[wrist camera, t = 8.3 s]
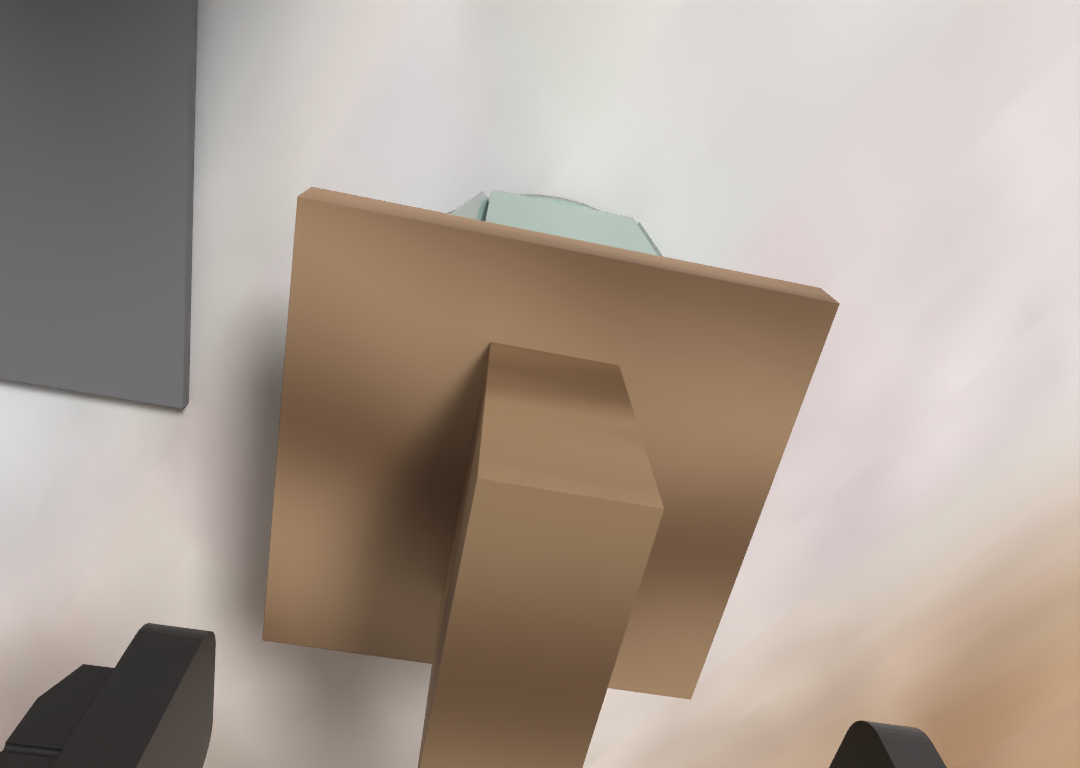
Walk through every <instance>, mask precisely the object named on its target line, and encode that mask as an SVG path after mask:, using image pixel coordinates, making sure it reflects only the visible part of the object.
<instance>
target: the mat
mask: <svg viewBox="0 0 1080 768" xmlns="http://www.w3.org/2000/svg"><path fill="white" fill-rule="evenodd" d="M196 39H197V0H0V379H4V380H10V381H16V382H22V383H28V384H35V385H41V386H47V387H53V388H59V389H65V390H71V391H77V392H84V393H90V394H96V395H102V396H108V397H114V398H120V399H126V400H133V401H139V402H145V403H151V404H157V405H163V406H169V407H176V408H182V409H183V408H184V407H185V406H186V405H187V404H188V403H189V366H190V319H191V273H192V226H193V179H194V133H195V86H196Z"/></svg>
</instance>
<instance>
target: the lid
mask: <svg viewBox="0 0 1080 768" xmlns="http://www.w3.org/2000/svg"><path fill="white" fill-rule="evenodd" d="M839 304H840V303H838V302H837V301H836V300H835V299H833V298H832V297H831V296H830V295H828V294H827V293H826V292H825V291H823V290H822V289H821V288H817V287H812V286H807V285H802V284H797V283H792V282H787V281H782V280H777V279H772V278H767V277H762V276H757V275H752V274H747V273H742V272H737V271H732V270H727V269H722V268H717V267H712V266H707V265H702V264H697V263H692V262H687V261H682V260H677V259H672V258H667V257H662V256H657V255H652V254H647V253H642V252H637V251H631V250H626V249H621V248H616V247H611V246H606V245H601V244H596V243H591V242H586V241H581V240H576V239H571V238H566V237H561V236H556V235H551V234H546V233H541V232H536V231H531V230H526V229H521V228H516V227H511V226H506V225H501V224H496V223H491V222H486V221H481V220H476V219H471V218H466V217H461V216H456V215H451V214H446V213H441V212H436V211H431V210H426V209H421V208H416V207H411V206H406V205H401V204H396V203H391V202H386V201H381V200H375V199H370V198H365V197H360V196H355V195H350V194H345V193H340V192H335V191H330V190H325V189H320V188H315V187H311V188H309V189H308V190H306V191H305V192H303V193H302V194H300V195H299V196H298V197H297V210H296V223H295V235H294V248H293V261H292V273H291V286H290V299H289V311H288V324H287V336H286V349H285V362H284V374H283V387H282V400H281V412H280V425H279V438H278V450H277V463H276V476H275V488H274V501H273V514H272V526H271V539H270V552H269V564H268V577H267V589H266V602H265V615H264V627H263V640H264V641H271V642H278V643H286V644H293V645H300V646H307V647H315V648H322V649H329V650H336V651H344V652H351V653H358V654H365V655H373V656H380V657H387V658H394V659H402V660H409V661H416V662H423V663H431V664H432V671H431V678H430V685H429V692H428V699H427V706H426V713H425V720H424V728H423V735H422V742H421V749H420V756H419V763H418V768H582V767H583V764H584V761H585V757H586V754H587V751H588V748H589V745H590V742H591V738H592V735H593V732H594V729H595V726H596V723H597V720H598V716H599V713H600V710H601V707H602V704H603V701H604V697H605V694H606V691H607V688H612V689H619V690H626V691H634V692H641V693H648V694H655V695H663V696H670V697H677V698H684V699H691V697H692V695H693V692H694V689H695V687H696V684H697V681H698V679H699V676H700V673H701V671H702V668H703V665H704V663H705V660H706V657H707V655H708V652H709V650H710V647H711V644H712V642H713V639H714V636H715V634H716V631H717V628H718V626H719V623H720V620H721V618H722V615H723V612H724V610H725V607H726V604H727V602H728V599H729V596H730V594H731V591H732V588H733V586H734V583H735V580H736V578H737V575H738V572H739V570H740V567H741V564H742V562H743V559H744V556H745V554H746V551H747V548H748V546H749V543H750V540H751V538H752V535H753V532H754V530H755V527H756V525H757V522H758V519H759V517H760V514H761V511H762V509H763V506H764V503H765V501H766V498H767V495H768V493H769V490H770V487H771V485H772V482H773V479H774V477H775V474H776V471H777V469H778V466H779V463H780V461H781V458H782V455H783V453H784V450H785V447H786V445H787V442H788V439H789V437H790V434H791V431H792V429H793V426H794V423H795V421H796V418H797V415H798V413H799V410H800V407H801V405H802V402H803V399H804V397H805V394H806V392H807V389H808V386H809V384H810V381H811V378H812V376H813V373H814V370H815V368H816V365H817V362H818V360H819V357H820V354H821V352H822V349H823V346H824V344H825V341H826V338H827V336H828V333H829V330H830V328H831V325H832V322H833V320H834V317H835V314H836V312H837V309H838V306H839Z"/></svg>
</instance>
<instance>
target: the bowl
mask: <svg viewBox="0 0 1080 768" xmlns="http://www.w3.org/2000/svg"><path fill="white" fill-rule="evenodd" d="M447 214H451V215H456V216H461V217H466V218H471V219H476V220H481V221H486V222H491V223H496V224H501V225H506V226H511V227H516V228H521V229H526V230H531V231H536V232H541V233H546V234H551V235H556V236H561V237H566V238H571V239H576V240H581V241H586V242H591V243H596V244H601V245H606V246H611V247H616V248H621V249H626V250H631V251H637V252H642V253H647V254H652V255H657V256H662V254H661V253H660V252H659V250H658V249H657V247H656V246H655V244H654V243H653V241H652V240H651V238H650V237H649V235H648V234H647V233H646V231H645V230H644V228H643V227H642V225H641V224H640V222H639V223H638V224H637V223H636V222H635V220H634V219H633V218H632V217H627V216H622V215H617V214H612V213H607V212H602V211H599V210H597V209H595V208H592V207H590V206H588V205H585V204H583V203H579V202H575V201H571V200H568V199H564V198H560V197H552V196H544V195H517V194H512V193H507V192H502V191H497V190H491V195H490V198H489V199H488V198H487V196H486V195H485V193H484V192H483V191H482V192H481V193H480V194H478V195H477V196H475V197H474V198H472V199H471V200H469V201H468V202H467V203H465V204H464V205H462V206H461V207H459V208H458V209H456V210H454V211H451V212H449V213H447ZM662 257H663V256H662Z"/></svg>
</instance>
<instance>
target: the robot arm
mask: <svg viewBox="0 0 1080 768" xmlns="http://www.w3.org/2000/svg"><path fill="white" fill-rule="evenodd" d="M215 647H216V640H215V635H214V633H213V632H211V631H204V630H196V629H189V628H181V627H174V626H167V625H159V624H152V623H147V624H145V625H144V626H142V628H141V629H140V630H139V631H138V632H137V634H136V635H135V637H134V638H133V640H132V642H131V643H130V645H129V646H128V648H127V649H126V651H125V652H124V654H123V656H122V657H121V659H120V660H119V662H118V663H117V665H116V667H115V668H109V667H101V666H93V665H85V664H83V665H82V666H80V667H79V668H78V669H76V670H75V671H74V672H72V673H71V674H70V675H68V676H67V677H66V678H64V679H63V680H62V681H60V682H59V683H58V684H56V685H55V686H53V687H52V688H51V689H49V690H48V691H47V692H45V693H44V694H43V695H41V696H40V697H39V698H37V700H36V701H35V702H34V704H33V705H32V707H31V708H30V709H29V711H28V712H27V713H26V715H25V716H24V718H23V719H22V720H21V722H20V723H19V725H18V726H17V727H16V729H15V730H14V731H13V733H12V734H11V736H10V737H9V738H8V740H7V741H6V742H5V747H4V749H3V751H2V752H0V768H202V767H203V764H204V761H205V758H206V754H207V750H208V746H209V742H210V737H211V731H212V723H213V700H214V674H215ZM829 768H947V767H946V766H945V764H944V762H943V761H942V759H941V757H940V755H939V754H938V752H937V750H936V749H935V747H934V745H933V743H932V742H931V740H930V739H929V737H928V736H927V735H926V734H925V733H924V732H922V731H921V730H919V729H917V728H913V727H905V726H898V725H890V724H883V723H875V722H868V721H857V722H855V723H853V724H852V725H851V726H850V728H849V730H848V731H847V733H846V735H845V737H844V739H843V741H842V743H841V745H840V747H839V749H838V751H837V753H836V755H835V757H834V759H833V761H832V763H831V765H830V767H829Z"/></svg>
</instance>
